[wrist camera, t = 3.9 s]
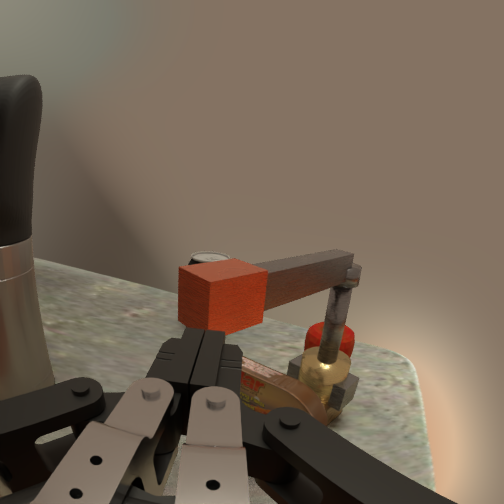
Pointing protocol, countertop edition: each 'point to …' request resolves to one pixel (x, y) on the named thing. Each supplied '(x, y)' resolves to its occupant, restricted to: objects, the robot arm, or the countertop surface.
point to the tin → (277, 391)
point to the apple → (316, 332)
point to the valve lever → (256, 287)
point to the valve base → (329, 359)
